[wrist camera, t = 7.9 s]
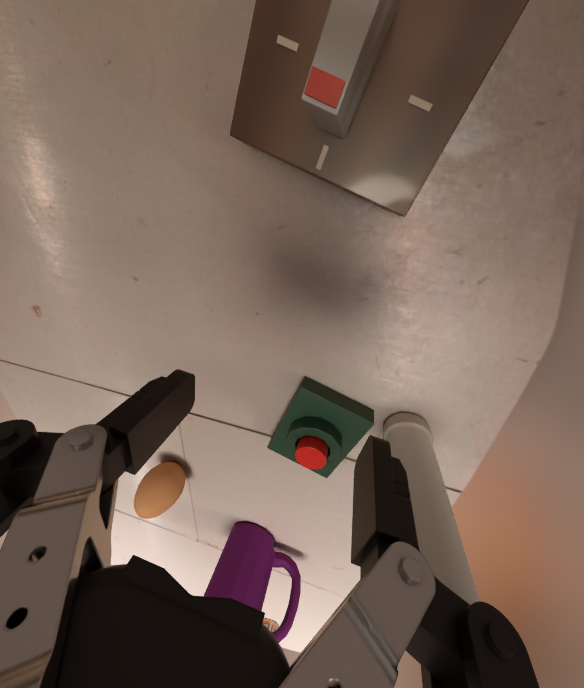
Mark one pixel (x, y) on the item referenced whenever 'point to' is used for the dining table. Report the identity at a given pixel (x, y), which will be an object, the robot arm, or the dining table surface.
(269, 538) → the mug
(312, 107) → the tap handle
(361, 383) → the dining table surface
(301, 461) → the red push button
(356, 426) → the switch
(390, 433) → the bottle
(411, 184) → the panel
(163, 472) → the egg
